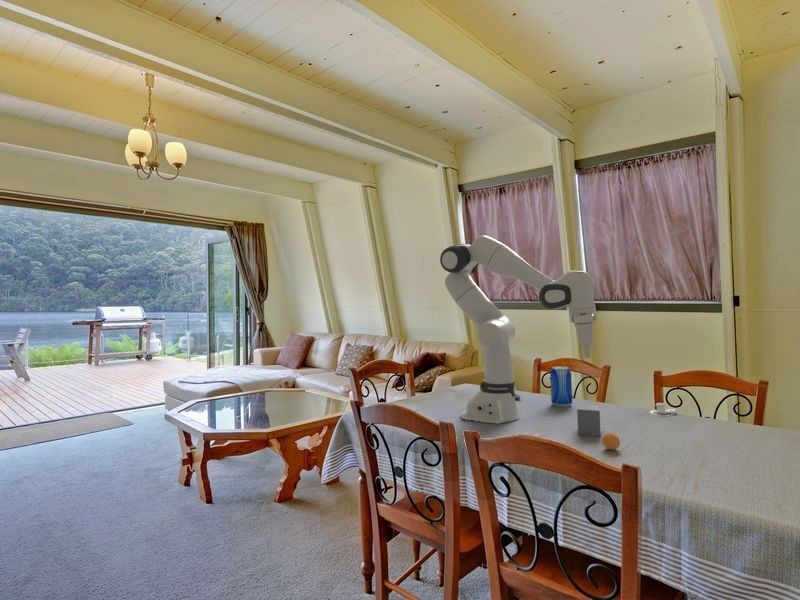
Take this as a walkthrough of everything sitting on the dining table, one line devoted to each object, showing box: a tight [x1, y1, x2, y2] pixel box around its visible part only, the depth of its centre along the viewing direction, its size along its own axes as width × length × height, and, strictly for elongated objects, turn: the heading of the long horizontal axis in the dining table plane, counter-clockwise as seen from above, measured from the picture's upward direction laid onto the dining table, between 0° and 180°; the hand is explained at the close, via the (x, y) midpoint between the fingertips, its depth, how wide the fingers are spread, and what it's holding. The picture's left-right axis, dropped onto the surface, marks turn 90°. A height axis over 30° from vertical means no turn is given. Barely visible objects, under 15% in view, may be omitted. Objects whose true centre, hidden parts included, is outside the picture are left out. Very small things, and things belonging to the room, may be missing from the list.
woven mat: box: [515, 392, 521, 401], centre depth 211 cm, size 10×11×2 cm
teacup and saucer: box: [649, 402, 677, 417], centre depth 176 cm, size 9×8×4 cm
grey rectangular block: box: [576, 404, 601, 437], centre depth 158 cm, size 7×7×9 cm
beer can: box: [549, 365, 573, 408], centre depth 195 cm, size 8×8×16 cm
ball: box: [601, 432, 621, 451], centre depth 141 cm, size 5×5×5 cm
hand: (587, 355), depth 160 cm, fingers open, 8 cm apart
